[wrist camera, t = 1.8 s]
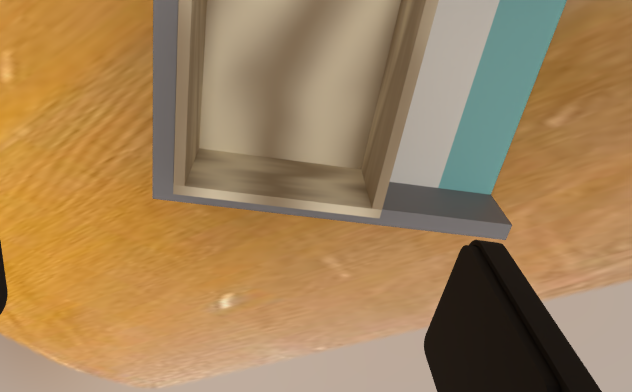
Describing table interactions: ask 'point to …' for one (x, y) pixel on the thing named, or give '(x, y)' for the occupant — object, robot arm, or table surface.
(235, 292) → the table surface
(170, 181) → the bay
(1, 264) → the robot arm
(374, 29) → the crate
